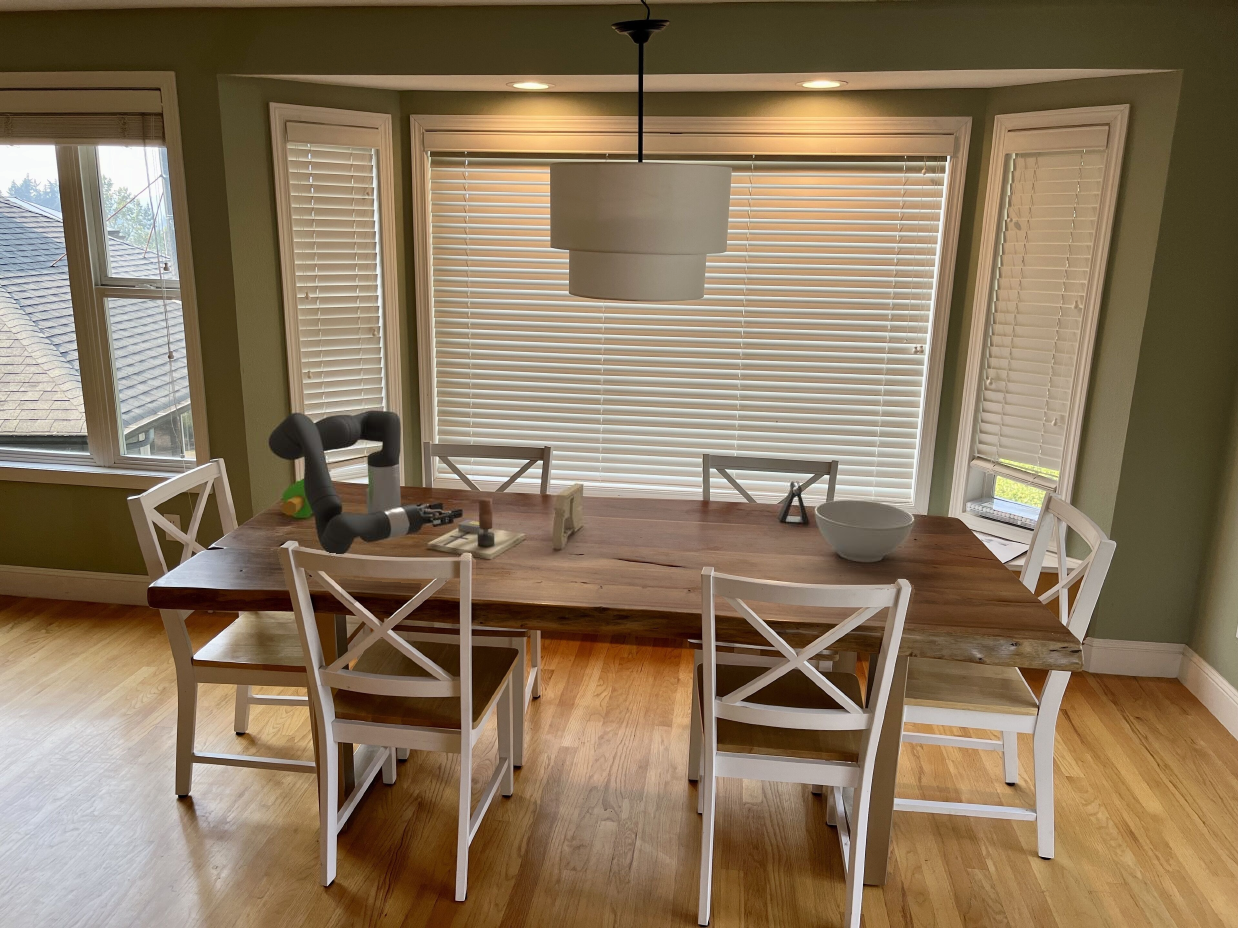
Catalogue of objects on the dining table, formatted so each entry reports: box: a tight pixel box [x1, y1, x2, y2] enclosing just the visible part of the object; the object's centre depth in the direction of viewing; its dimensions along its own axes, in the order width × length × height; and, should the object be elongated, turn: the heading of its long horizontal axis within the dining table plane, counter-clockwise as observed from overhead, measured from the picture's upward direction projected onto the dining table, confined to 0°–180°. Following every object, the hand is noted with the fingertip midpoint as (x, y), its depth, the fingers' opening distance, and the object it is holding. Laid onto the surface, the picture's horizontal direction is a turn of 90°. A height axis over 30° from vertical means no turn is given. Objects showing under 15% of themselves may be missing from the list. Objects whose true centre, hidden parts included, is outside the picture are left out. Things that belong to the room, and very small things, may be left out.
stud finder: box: [457, 518, 483, 534], centre depth 260 cm, size 7×5×2 cm
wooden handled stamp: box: [478, 497, 495, 548], centre depth 246 cm, size 5×5×13 cm
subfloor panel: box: [427, 527, 526, 560], centre depth 253 cm, size 20×19×2 cm
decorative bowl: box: [813, 499, 916, 563], centre depth 250 cm, size 27×27×12 cm
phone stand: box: [778, 480, 810, 525], centre depth 280 cm, size 9×6×12 cm, turn 84°
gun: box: [551, 482, 584, 550], centre depth 259 cm, size 24×3×15 cm, turn 168°
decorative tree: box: [280, 478, 314, 519], centre depth 280 cm, size 11×12×30 cm
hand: (451, 509), depth 236 cm, fingers open, 8 cm apart
